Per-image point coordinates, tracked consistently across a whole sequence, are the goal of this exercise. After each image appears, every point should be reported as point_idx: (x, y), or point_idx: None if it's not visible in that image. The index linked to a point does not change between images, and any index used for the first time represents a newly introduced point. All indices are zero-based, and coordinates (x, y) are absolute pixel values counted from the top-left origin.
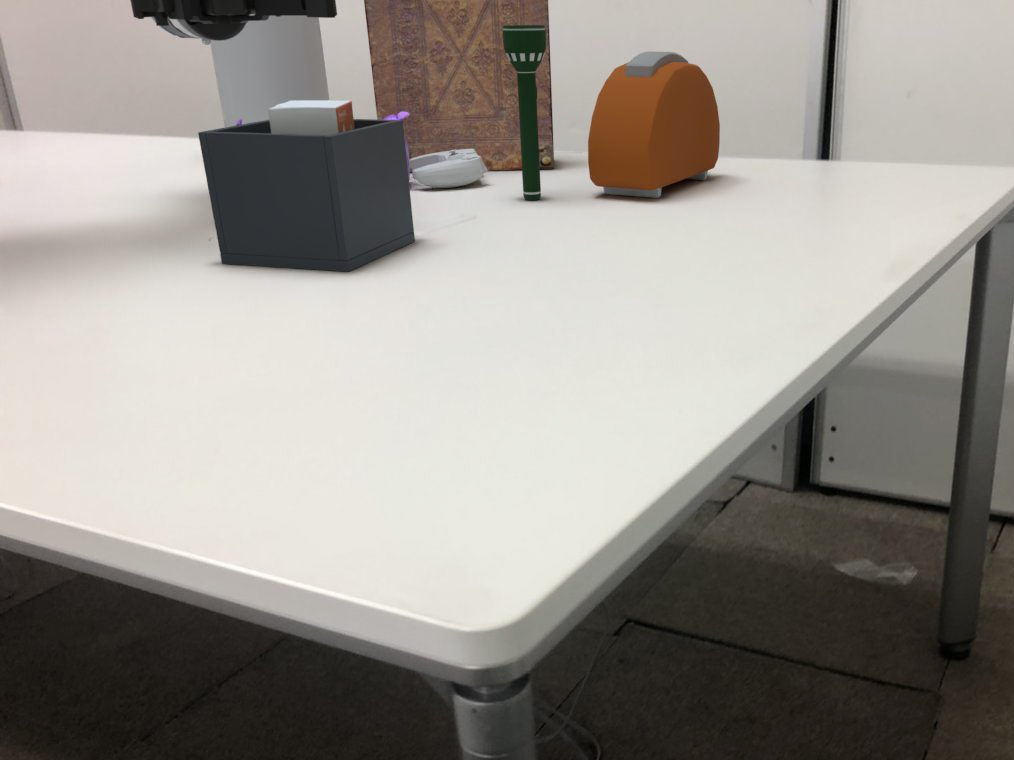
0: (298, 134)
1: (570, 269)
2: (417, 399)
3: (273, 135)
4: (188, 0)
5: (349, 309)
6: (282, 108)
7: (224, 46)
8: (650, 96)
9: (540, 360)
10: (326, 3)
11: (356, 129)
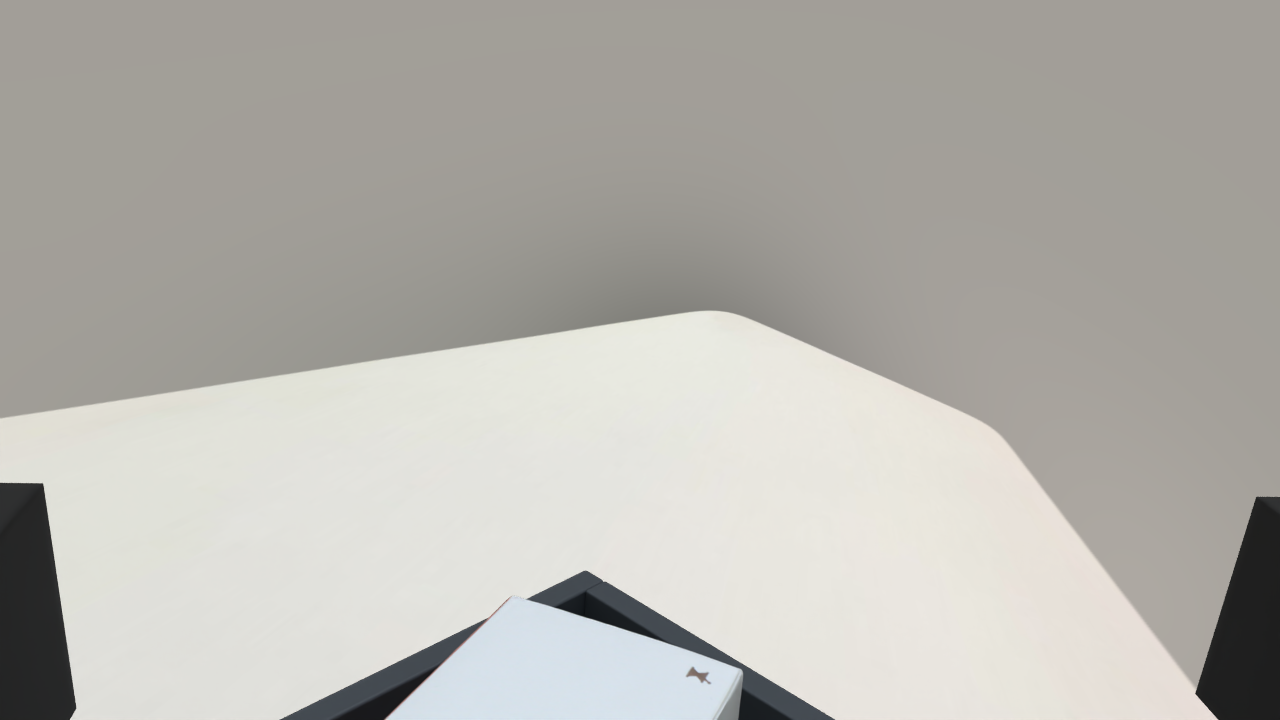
0: (663, 631)
1: (132, 674)
2: (671, 434)
3: (738, 664)
4: (1240, 581)
5: None
6: (690, 652)
7: None
8: None
9: (512, 447)
10: (58, 603)
11: (452, 646)
